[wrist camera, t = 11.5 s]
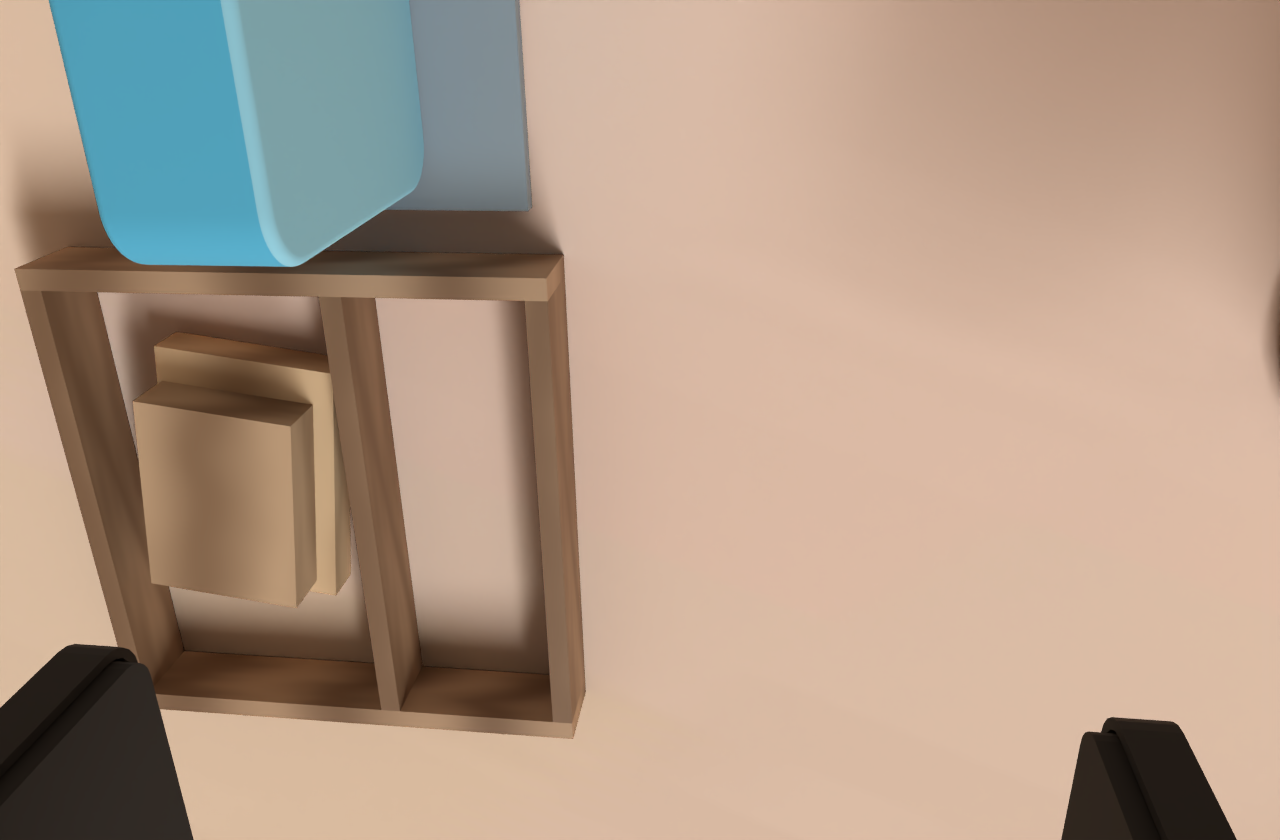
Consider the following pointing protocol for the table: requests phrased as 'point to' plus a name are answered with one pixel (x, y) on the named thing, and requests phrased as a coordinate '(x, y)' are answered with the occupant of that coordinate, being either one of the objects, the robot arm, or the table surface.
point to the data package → (242, 122)
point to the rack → (347, 294)
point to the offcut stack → (243, 471)
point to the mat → (470, 107)
